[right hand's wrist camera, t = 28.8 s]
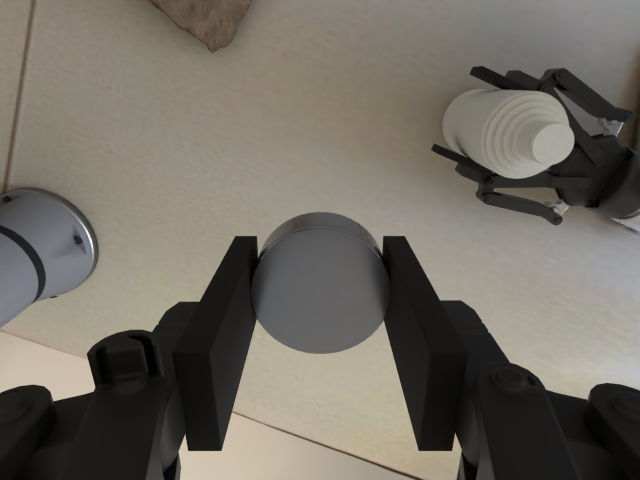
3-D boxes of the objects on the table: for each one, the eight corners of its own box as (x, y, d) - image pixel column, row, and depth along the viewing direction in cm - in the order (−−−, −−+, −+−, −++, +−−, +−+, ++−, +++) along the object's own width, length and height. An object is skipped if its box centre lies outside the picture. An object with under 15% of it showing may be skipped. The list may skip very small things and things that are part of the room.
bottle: (513, 90, 48) (618, 95, 31) (498, 157, 50) (586, 195, 33) (448, 86, 48) (516, 88, 30) (437, 152, 50) (493, 189, 33)
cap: (269, 199, 13) (262, 215, 12) (398, 226, 14) (409, 245, 12) (249, 312, 15) (240, 341, 13) (365, 334, 15) (370, 364, 14)
